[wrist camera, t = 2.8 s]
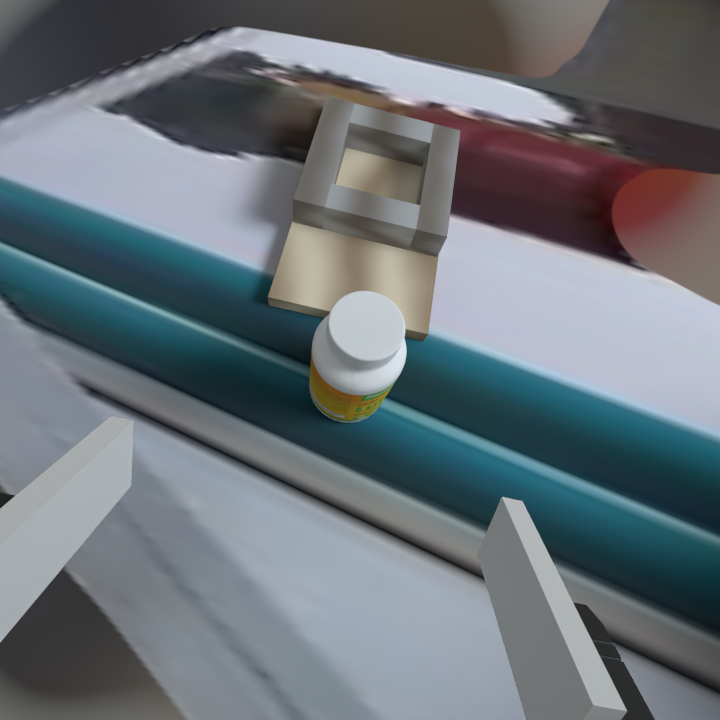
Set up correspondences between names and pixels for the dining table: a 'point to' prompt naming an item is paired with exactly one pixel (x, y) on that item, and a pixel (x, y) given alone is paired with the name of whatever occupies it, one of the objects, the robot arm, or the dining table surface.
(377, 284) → the socket board
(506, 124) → the dining table surface
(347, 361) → the supplement bottle
